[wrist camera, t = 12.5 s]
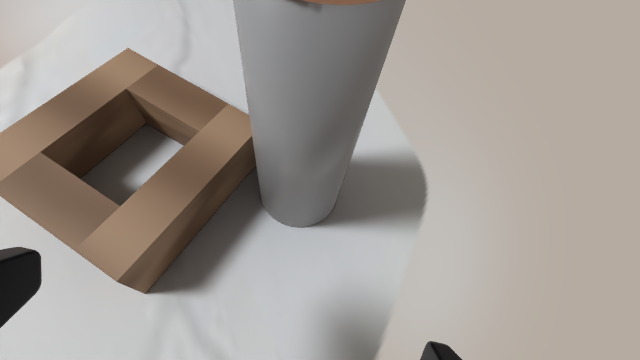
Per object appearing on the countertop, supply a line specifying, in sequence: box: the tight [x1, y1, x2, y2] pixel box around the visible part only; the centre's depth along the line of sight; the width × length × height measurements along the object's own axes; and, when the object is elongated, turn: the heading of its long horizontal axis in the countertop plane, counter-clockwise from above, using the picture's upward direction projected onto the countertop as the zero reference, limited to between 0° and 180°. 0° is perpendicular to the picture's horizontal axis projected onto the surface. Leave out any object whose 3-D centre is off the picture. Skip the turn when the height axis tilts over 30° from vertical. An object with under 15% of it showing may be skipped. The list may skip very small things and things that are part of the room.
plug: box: [233, 0, 406, 227], centre depth 13 cm, size 5×5×14 cm
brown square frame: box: [0, 48, 256, 294], centre depth 17 cm, size 10×10×3 cm
